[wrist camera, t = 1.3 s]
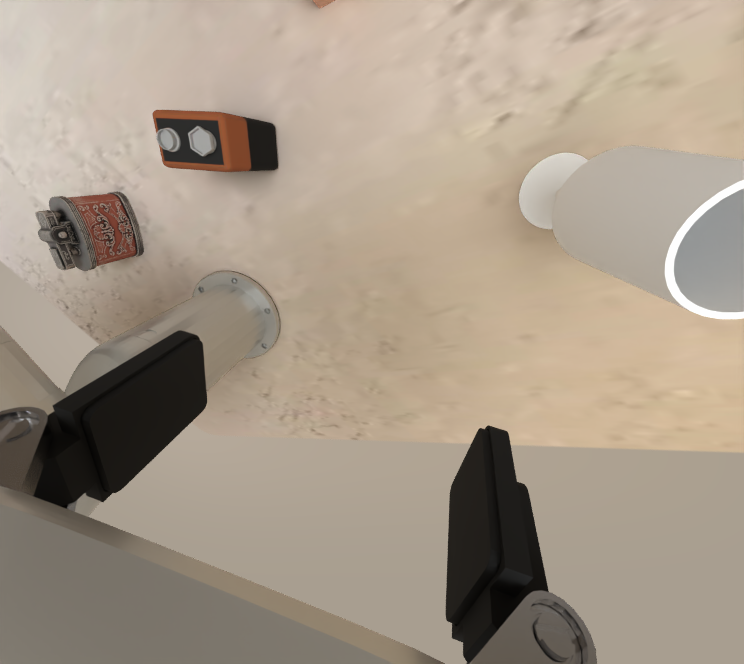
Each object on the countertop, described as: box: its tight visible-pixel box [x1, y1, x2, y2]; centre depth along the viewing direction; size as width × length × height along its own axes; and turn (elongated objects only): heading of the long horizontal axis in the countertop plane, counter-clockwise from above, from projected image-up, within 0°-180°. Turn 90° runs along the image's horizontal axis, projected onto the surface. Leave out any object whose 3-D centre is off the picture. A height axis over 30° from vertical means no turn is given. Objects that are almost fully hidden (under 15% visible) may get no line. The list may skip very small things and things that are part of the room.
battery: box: [153, 110, 278, 172], centre depth 31 cm, size 4×7×10 cm, turn 87°
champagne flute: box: [519, 146, 744, 319], centre depth 21 cm, size 7×7×24 cm
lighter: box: [35, 192, 144, 271], centre depth 39 cm, size 8×3×10 cm, turn 0°
